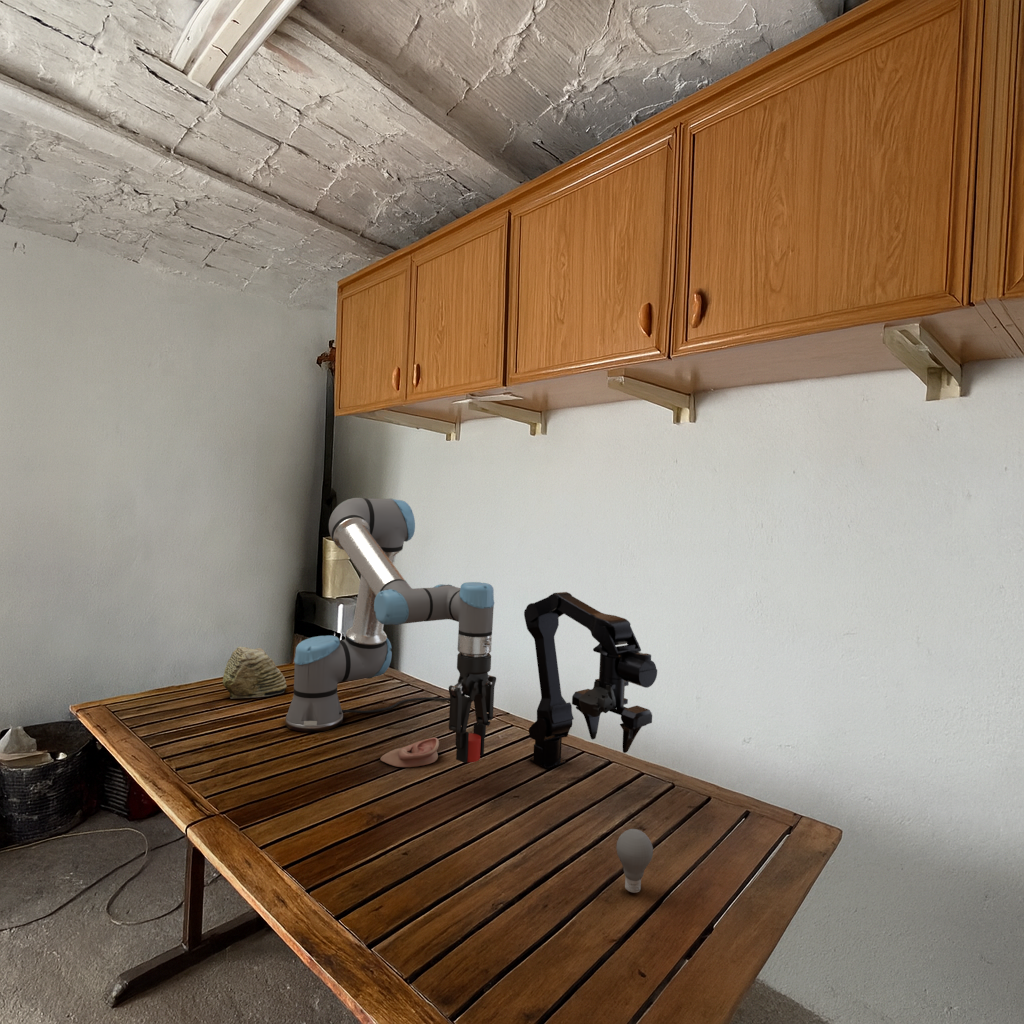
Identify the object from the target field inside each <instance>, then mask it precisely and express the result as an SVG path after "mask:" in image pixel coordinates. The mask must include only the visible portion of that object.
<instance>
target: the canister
mask: <svg viewBox="0 0 1024 1024" xmlns="http://www.w3.org/2000/svg"><path fill="white" fill-rule="evenodd" d="M480 747H481V736H480V735H478V734H474V733H473V732H469V738H468V761H467V763H476V762H478V761H480V760H481V755H480Z"/></svg>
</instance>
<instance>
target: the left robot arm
mask: <svg viewBox="0 0 1024 1024" xmlns="http://www.w3.org/2000/svg"><path fill="white" fill-rule="evenodd" d="M412 509H413V508H412V507H411V506H410V505H409V503H408V502H406V501H405V500H402V499H395V498H372V497H371V498H365V497H352V498H348V499H345V500H344V501H342V502H340V503H339V504H338V505H336V507H335V508H334V510H332V513H331V514H330V517H329V520H328V532H329V535H330V538H331V540H332V542H333V543H334V545H335V546H336V547H337V548H338V549H340V550H343V551H344V552H345V554H347V557H349V559H350V561H351V562H352V563H353V565H354V566H355V568H356V569H357V571H358V572H359V573H360V580H359V586H358V592H357V598H356V604H355V609H354V610H355V611H354V616H353V622H352V626H351V627H349V628H347V630H346V632H345V636H344V637H345V638H344V639H341V640H340V638H339V637H338V636H336V635H331V634H330V635H329V634H328V635H318V636H312V637H308V638H306V639H303V640H301V641H300V642H299V643H298V644H297V645H296V647H295V655H294V659H293V663H294V672H293V673H294V674H293V695H292V696H293V697H292V699H291V702H290V704H289V708H288V711H287V713H286V715H285V726H286V728H287V729H289V730H291V731H294V732H295V731H296V732H301V733H316V732H325V731H329V730H332V729H335V728H337V727H339V726H340V725H342V723H343V722H344V713H347V714H349V713H351V714H353V713H354V714H372V713H379V712H385V711H388V710H390V709H391V710H392V709H394V708H396V707H397V706H399V705H401V704H405V703H407V702H413V701H414V702H415V701H427V700H428V701H449V711H448V713H449V714H448V730H449V731H452V732H454V733H455V743H454V744H455V747H456V751H455V753H456V754H455V760H456V761H459V762H461V763H463V764H466V763H468V762H467V761H468V738H469V733H470V732H468V731H467V728H468V723H469V718H470V713H471V707H472V703H473V705H474V712H475V720H476V723H473V731H472V733H474V734H478V735H480V736H481V747H480V757H482V756H485V738H486V735H487V734H486V733H487V727H489V726H490V725H491V721H492V720H493V718H494V706H495V704H494V703H495V685H496V682H497V677H496V676H494V675H490V674H489V672H490V671H491V669H492V655H491V652H492V645H493V643H492V642H493V628H494V627H493V625H494V624H493V623H494V609H495V607H494V606H495V598H494V597H495V596H494V595H495V594H494V587H493V585H492V584H491V583H488V582H480V581H468V582H463V583H461V585H460V587H458V586H455V585H452V584H443V583H442V584H437V585H435V586H433V587H418V588H413V587H411V586H410V584H409V583H408V582H407V581H406V580H405V578H404V577H403V575H402V573H400V571H399V570H398V569H397V567H396V565H395V564H396V557H397V555H398V554H399V553H401V552H402V551H403V548H404V544H405V542H409V541H411V540H412V538H413V537H414V536H415V531H416V520H415V515H414V512H413V510H412ZM443 620H449V621H450V620H451V621H455V622H458V634H457V651H458V653H457V655H456V656H457V657H456V658H457V659H456V669H457V671H458V673H459V675H458V679H457V683H456V684H454V685H452V684H451V685H449V686H448V693H449V697H435V696H433V697H432V696H425V697H413V698H406V699H402V700H399V701H398V702H395V703H394V704H393V705H390V706H387V707H382V708H375V709H367V710H366V709H365V710H360V709H359V710H358V709H342V706H341V702H340V699H339V695H338V684H339V683H343V682H351V681H356V680H363V679H366V680H369V679H372V678H373V679H374V678H375V677H381V676H382V675H384V674H385V673H386V672H387V670H388V669H389V668H390V665H391V662H392V657H393V651H392V643H391V641H390V639H389V638H388V636H387V634H386V632H385V631H384V626H385V625H386V626H387V625H394V626H398V625H404V624H405V625H406V624H414V623H421V622H434V621H443Z"/></svg>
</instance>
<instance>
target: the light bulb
mask: <svg viewBox="0 0 1024 1024" xmlns="http://www.w3.org/2000/svg"><path fill="white" fill-rule="evenodd" d="M615 849H616V854H617V857H618V859H619V861H620V863H621V865H622V867H623V873H624V874H623V875H624V876H625V878H624V888H625V890H627V891H628V892H630V893H634V894H635V893H639V892H640V891H641V889H642V887H641V886H642V879H643V877H644V875H645V871H646V868H647V867H648V866H649V864H650V863H651V861H652V859H653V855H654V847H653V843H652V841H651V838H649V836H648V835H647V834H646V833H645V832H643V831H642V830H641V829H636V828H629V829H627V830H625V831H623V832H622V833H621V834H620V835H619V837H618V839H617V841H616V847H615Z"/></svg>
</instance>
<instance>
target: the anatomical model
mask: <svg viewBox="0 0 1024 1024" xmlns="http://www.w3.org/2000/svg"><path fill="white" fill-rule="evenodd" d="M439 747H440V741H439V739H438V737H430V738H426V739H422V740H419V741H416V742H414V743H411V744H409V745H406V746H403V747H398V748H395V749H392V750H389V751H388V752H386V753H385V754H383V755H382V756H381V757H380V759H379V760H380V761H381V762H383V763H384V764H387V765H390V766H392V767H397V768H413V767H420V766H425V765H431V764H432V763H435V762H436V761H437V760H438V758H439V754H438V752H437V751H438V749H439Z"/></svg>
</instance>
